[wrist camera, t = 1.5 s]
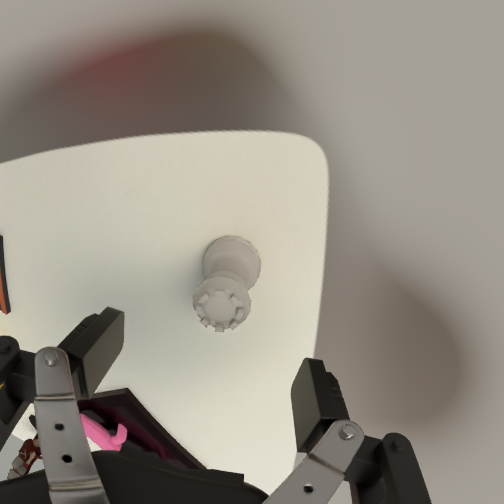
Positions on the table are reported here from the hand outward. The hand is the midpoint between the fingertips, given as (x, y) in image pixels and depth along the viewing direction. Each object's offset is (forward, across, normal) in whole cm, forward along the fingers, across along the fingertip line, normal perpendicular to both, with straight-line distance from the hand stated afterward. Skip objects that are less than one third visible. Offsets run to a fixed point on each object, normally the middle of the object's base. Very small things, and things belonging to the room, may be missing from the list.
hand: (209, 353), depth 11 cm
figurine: (+12, +27, +41) cm, 50 cm away
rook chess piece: (+12, 0, 0) cm, 12 cm away
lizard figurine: (+12, +8, +30) cm, 33 cm away
